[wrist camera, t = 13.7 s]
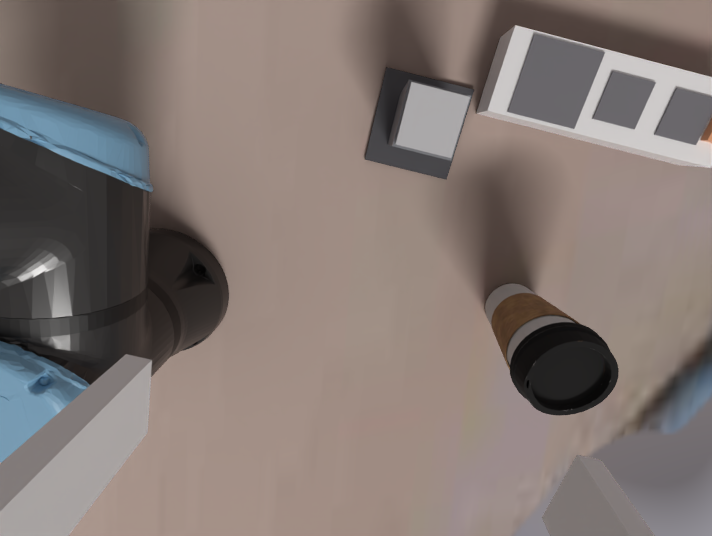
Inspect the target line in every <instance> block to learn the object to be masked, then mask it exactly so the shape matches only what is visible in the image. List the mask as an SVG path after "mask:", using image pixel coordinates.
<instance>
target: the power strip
mask: <svg viewBox="0 0 712 536" xmlns="http://www.w3.org/2000/svg"><path fill="white" fill-rule="evenodd" d="M476 114H480V115H484V116H488V117H492V118H496V119H499V120H503V121H507V122H511V123H515V124H519V125H523V126H527V127H531V128H535V129H539V130H543V131H546V132H550V133H554V134H558V135H562V136H566V137H570V138H574V139H578V140H582V141H586V142H590V143H594V144H597V145H601V146H605V147H609V148H613V149H617V150H621V151H625V152H629V153H633V154H637V155H641V156H645V157H648V158H652V159H656V160H660V161H664V162H668V163H672V164H676V165H684V166H696V167H708V168H711V166H712V77H709V76H706V75H702V74H698V73H694V72H690V71H687V70H683V69H679V68H675V67H672V66H668V65H664V64H660V63H656V62H653V61H649V60H645V59H641V58H638V57H634V56H630V55H626V54H623V53H619V52H615V51H611V50H607V49H604V48H600V47H596V46H592V45H589V44H585V43H581V42H577V41H573V40H570V39H566V38H562V37H558V36H555V35H551V34H547V33H543V32H539V31H536V30H532V29H528V28H524V27H521V26H517V25H515V26H514V27H512V28H511V29H510V30H509V31H507V32H506V33H505V34H504V35H502V36H501V37H500V40H499V43H498V46H497V49H496V52H495V56H494V59H493V62H492V65H491V68H490V71H489V74H488V78H487V81H486V84H485V87H484V90H483V93H482V96H481V100H480V103H479V106H478V109H477V112H476Z"/></svg>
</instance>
